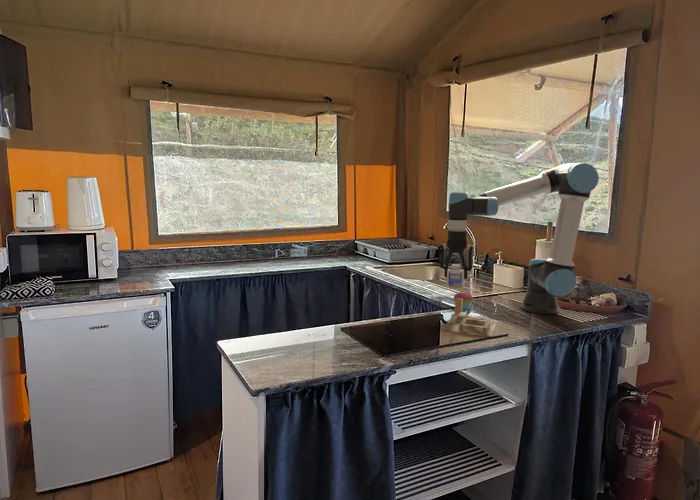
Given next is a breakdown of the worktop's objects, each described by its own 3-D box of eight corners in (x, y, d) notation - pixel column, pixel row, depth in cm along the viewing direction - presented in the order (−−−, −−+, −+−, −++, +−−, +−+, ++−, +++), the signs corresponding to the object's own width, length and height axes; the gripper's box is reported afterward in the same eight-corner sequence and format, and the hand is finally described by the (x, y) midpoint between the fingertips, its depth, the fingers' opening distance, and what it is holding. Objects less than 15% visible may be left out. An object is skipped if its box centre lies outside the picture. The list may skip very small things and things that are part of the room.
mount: (496, 325, 191) (496, 317, 191) (492, 337, 176) (492, 329, 175) (450, 319, 198) (450, 311, 197) (442, 330, 182) (443, 322, 182)
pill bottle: (452, 285, 204) (453, 263, 203) (464, 287, 201) (465, 264, 199) (446, 288, 200) (447, 264, 199) (458, 289, 197) (459, 266, 195)
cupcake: (458, 311, 210) (460, 284, 208) (449, 306, 218) (451, 280, 216) (476, 310, 212) (477, 283, 211) (466, 305, 220) (468, 279, 219)
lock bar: (461, 314, 193) (462, 298, 192) (456, 323, 180) (457, 306, 179) (455, 313, 194) (456, 297, 193) (449, 322, 181) (450, 305, 180)
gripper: (481, 230, 197) (479, 285, 200) (436, 228, 204) (435, 282, 207) (479, 232, 190) (477, 289, 193) (433, 230, 197) (431, 285, 200)
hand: (455, 285), depth 200 cm, fingers closed on pill bottle, 5 cm apart
